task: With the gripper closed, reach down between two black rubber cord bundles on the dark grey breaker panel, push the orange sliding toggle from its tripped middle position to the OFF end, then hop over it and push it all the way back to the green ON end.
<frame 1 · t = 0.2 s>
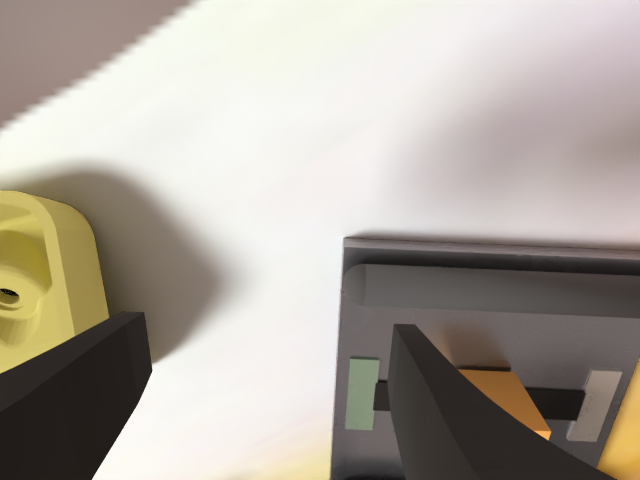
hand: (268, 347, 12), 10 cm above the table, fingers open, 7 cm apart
panel: (470, 385, 24), on the table
toggle: (491, 434, 21), point 4 cm above the table, slide at 4.0 cm
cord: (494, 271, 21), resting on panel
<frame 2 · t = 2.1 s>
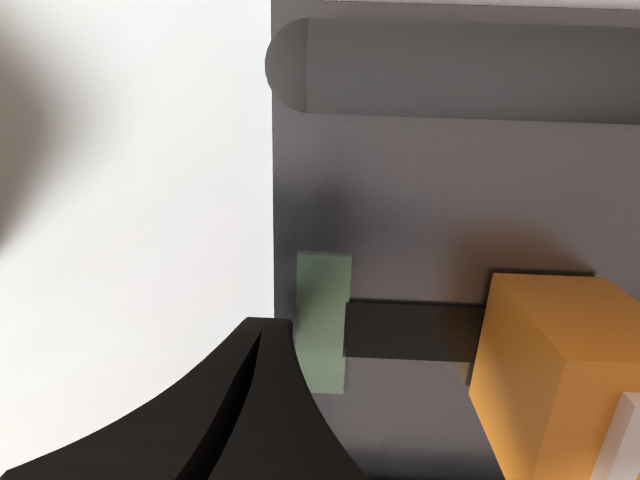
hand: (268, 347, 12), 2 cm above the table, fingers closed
panel: (513, 315, 14), on the table
toggle: (570, 389, 11), point 4 cm above the table, slide at 4.0 cm
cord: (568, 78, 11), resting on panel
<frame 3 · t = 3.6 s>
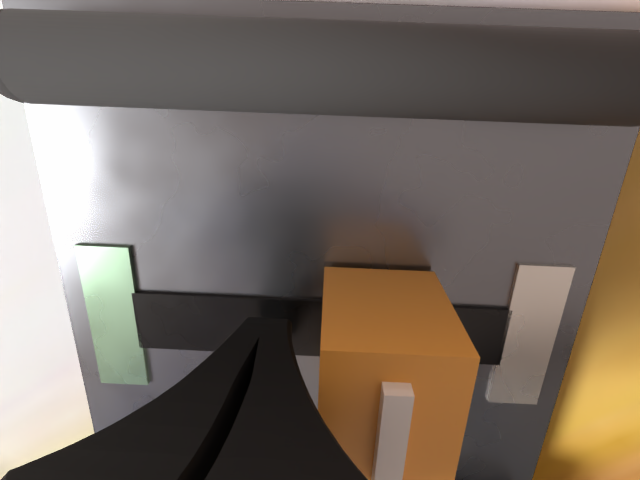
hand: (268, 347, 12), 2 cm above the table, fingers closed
panel: (320, 307, 14), on the table
toggle: (380, 381, 11), point 4 cm above the table, slide at 5.7 cm, touching gripper
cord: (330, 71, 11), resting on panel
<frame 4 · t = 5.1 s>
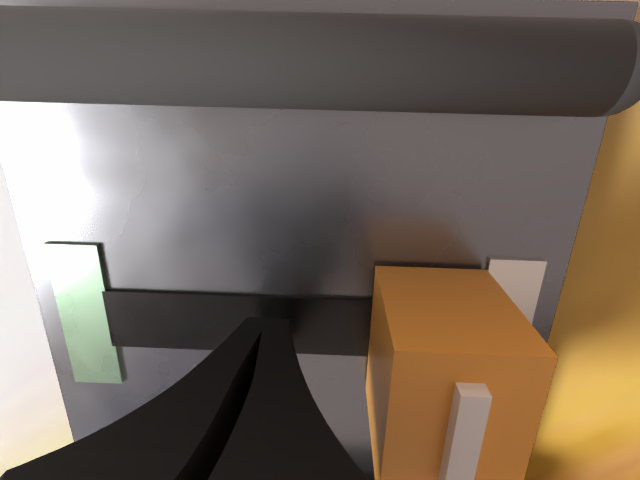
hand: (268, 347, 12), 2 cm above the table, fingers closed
panel: (295, 304, 14), on the table
toggle: (439, 381, 10), point 4 cm above the table, slide at 8.0 cm
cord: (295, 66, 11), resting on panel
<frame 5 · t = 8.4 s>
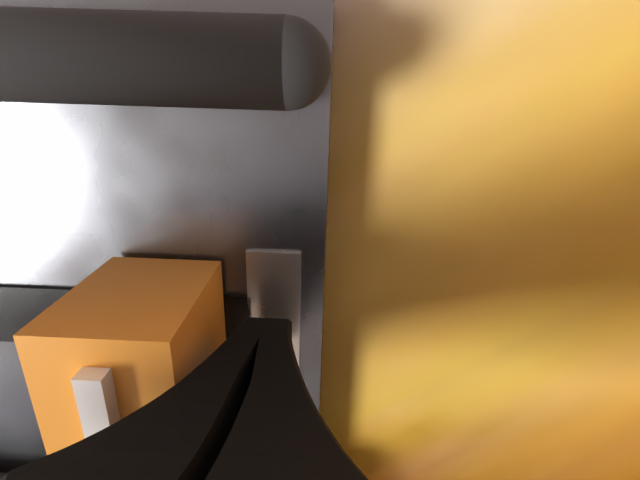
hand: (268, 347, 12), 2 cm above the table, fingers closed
panel: (92, 296, 14), on the table
toggle: (143, 369, 11), point 4 cm above the table, slide at 7.4 cm, touching gripper
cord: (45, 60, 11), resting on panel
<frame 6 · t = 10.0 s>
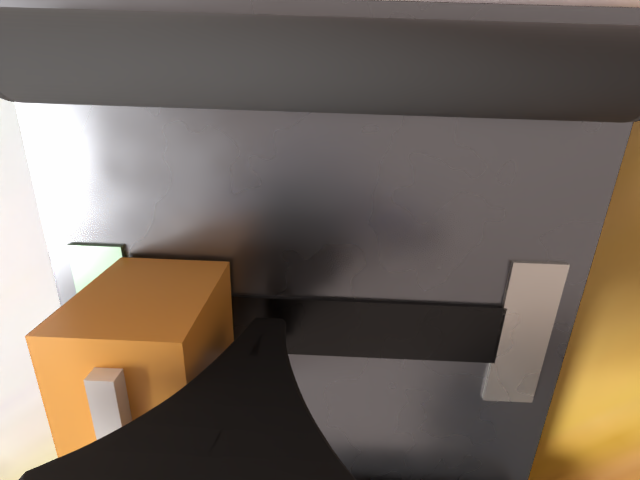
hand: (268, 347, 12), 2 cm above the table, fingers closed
panel: (315, 306, 14), on the table
toggle: (152, 370, 11), point 4 cm above the table, slide at -0.1 cm, touching gripper
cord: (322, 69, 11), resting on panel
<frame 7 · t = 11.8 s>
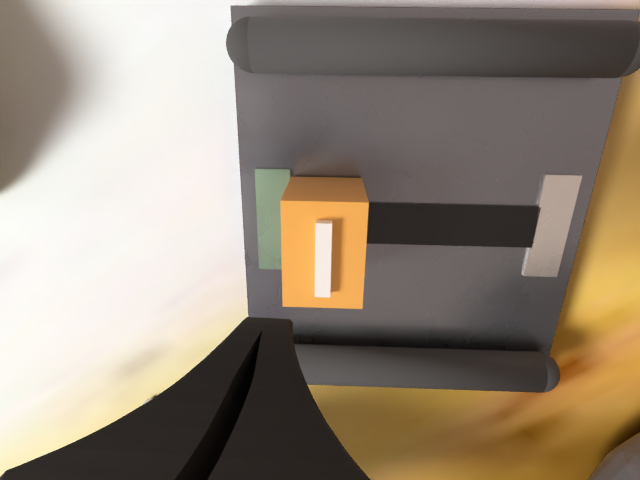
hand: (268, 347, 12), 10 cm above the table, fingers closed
panel: (406, 216, 20), on the table
toggle: (324, 240, 17), point 4 cm above the table, slide at 0.0 cm
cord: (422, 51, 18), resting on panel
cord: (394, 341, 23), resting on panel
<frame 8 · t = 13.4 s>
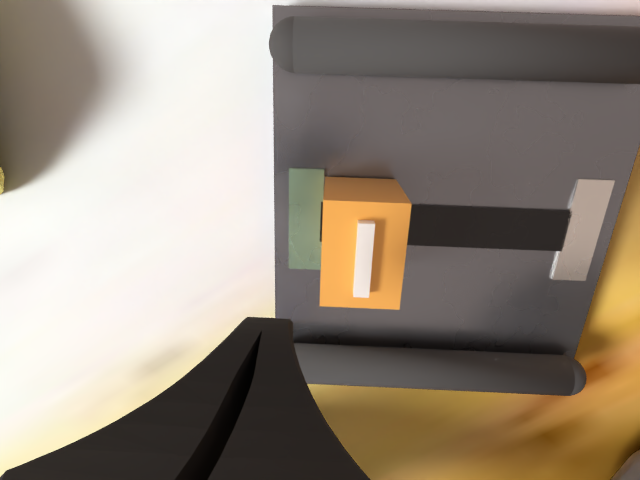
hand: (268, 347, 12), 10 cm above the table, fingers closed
panel: (436, 218, 21), on the table
toggle: (360, 240, 17), point 4 cm above the table, slide at 0.0 cm
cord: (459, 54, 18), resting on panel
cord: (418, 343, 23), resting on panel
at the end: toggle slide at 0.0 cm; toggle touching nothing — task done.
